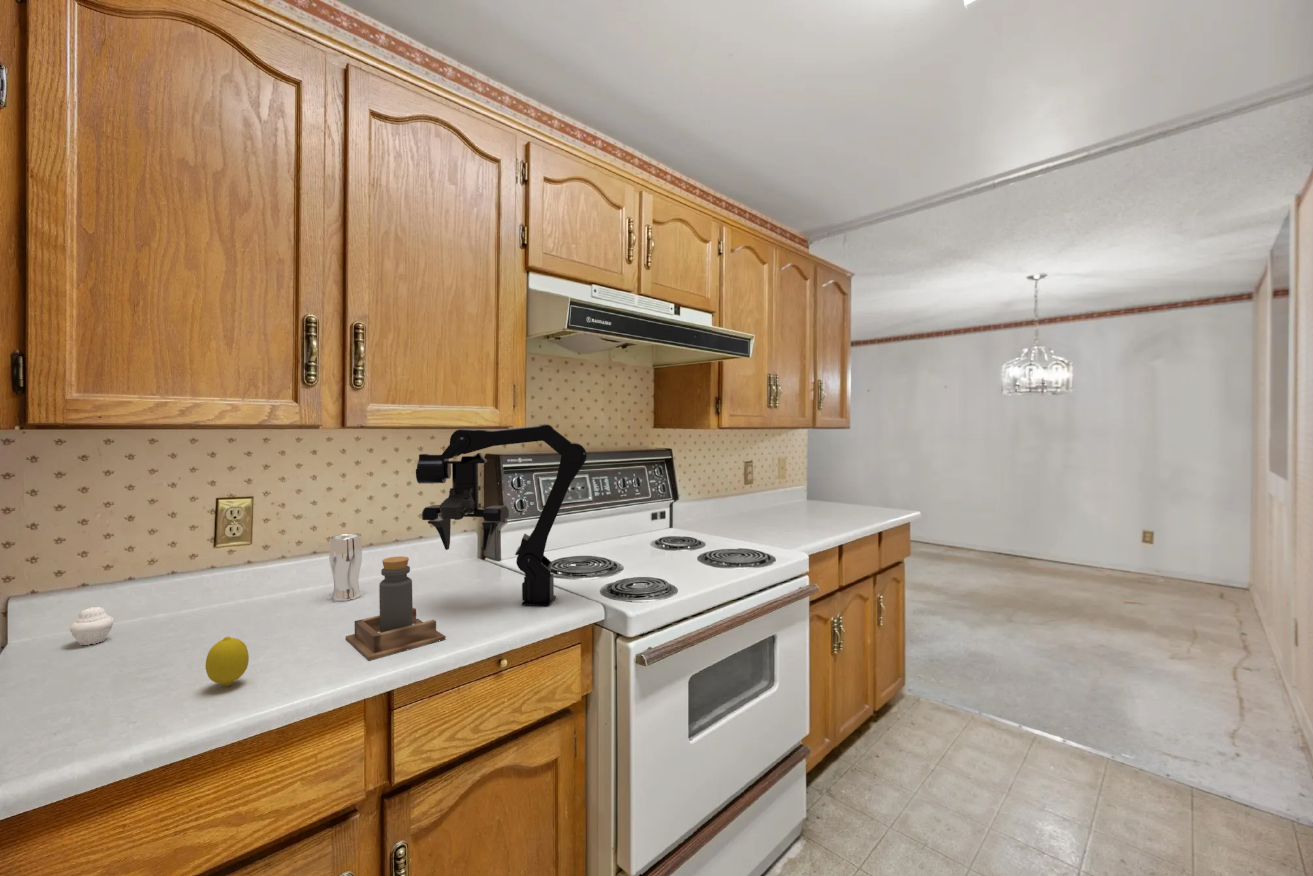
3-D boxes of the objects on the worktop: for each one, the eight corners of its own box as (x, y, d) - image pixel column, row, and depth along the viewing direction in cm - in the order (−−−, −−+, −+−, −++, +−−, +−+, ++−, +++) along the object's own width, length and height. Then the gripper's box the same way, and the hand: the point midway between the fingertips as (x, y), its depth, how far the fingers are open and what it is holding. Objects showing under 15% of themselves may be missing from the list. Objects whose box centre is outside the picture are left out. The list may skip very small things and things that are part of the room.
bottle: (409, 639, 107) (408, 561, 107) (376, 641, 106) (375, 563, 106) (415, 628, 113) (414, 554, 113) (384, 630, 112) (383, 556, 111)
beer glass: (368, 596, 137) (367, 535, 137) (339, 603, 131) (338, 540, 131) (353, 591, 141) (351, 532, 140) (324, 599, 135) (323, 537, 134)
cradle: (417, 621, 119) (417, 604, 119) (445, 639, 109) (445, 621, 109) (345, 639, 109) (345, 621, 109) (368, 660, 99) (368, 640, 99)
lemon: (221, 678, 92) (220, 631, 92) (257, 677, 93) (256, 630, 93) (197, 695, 87) (196, 644, 87) (234, 693, 87) (233, 643, 87)
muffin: (87, 637, 111) (86, 603, 110) (123, 635, 112) (121, 601, 112) (60, 650, 105) (59, 613, 104) (98, 647, 106) (97, 611, 106)
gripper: (408, 486, 122) (409, 557, 122) (490, 487, 120) (491, 559, 120) (433, 481, 133) (434, 546, 133) (509, 481, 131) (509, 547, 131)
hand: (466, 549), depth 129 cm, fingers open, 9 cm apart
